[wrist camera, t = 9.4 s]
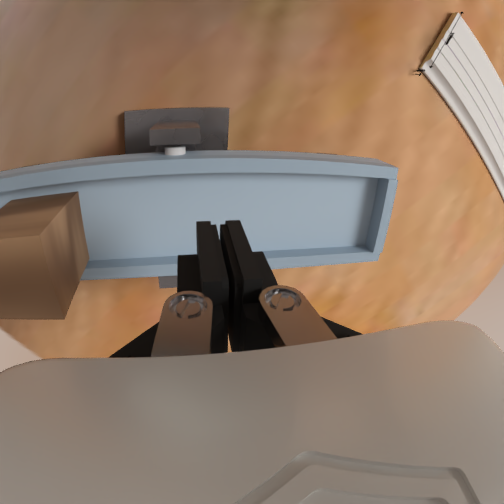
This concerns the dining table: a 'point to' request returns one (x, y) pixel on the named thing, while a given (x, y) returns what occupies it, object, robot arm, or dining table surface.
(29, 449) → the robot arm
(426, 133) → the dining table surface
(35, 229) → the rider
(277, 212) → the beam
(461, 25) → the baseboard molding
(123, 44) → the dining table surface
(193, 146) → the stand
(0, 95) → the dining table surface
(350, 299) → the dining table surface
